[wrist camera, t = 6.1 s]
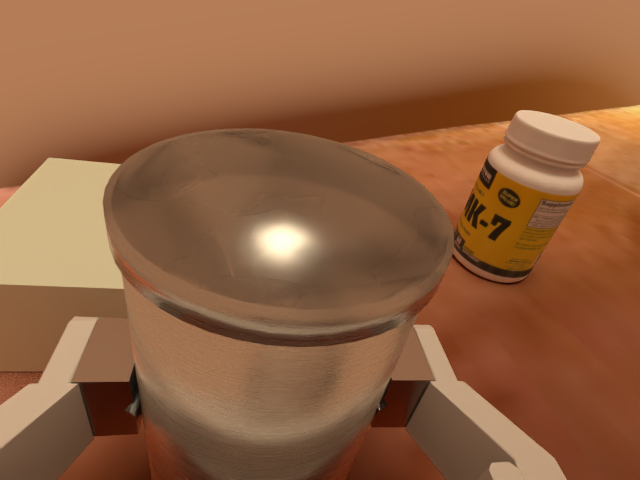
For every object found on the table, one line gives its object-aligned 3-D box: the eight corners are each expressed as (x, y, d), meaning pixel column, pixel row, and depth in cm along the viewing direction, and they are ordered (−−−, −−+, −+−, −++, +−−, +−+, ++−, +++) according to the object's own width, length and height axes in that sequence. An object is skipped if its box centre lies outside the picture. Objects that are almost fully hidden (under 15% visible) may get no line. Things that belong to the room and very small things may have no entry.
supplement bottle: (434, 236, 25) (488, 103, 21) (494, 234, 27) (558, 109, 22) (477, 289, 22) (556, 141, 17) (545, 283, 23) (634, 146, 19)
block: (233, 243, 21) (236, 175, 19) (222, 371, 15) (226, 292, 13) (66, 232, 20) (48, 157, 18) (-26, 371, 13) (-71, 281, 11)
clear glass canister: (321, 404, 15) (399, 144, 9) (347, 588, 10) (522, 322, 5) (170, 407, 14) (149, 114, 8) (132, 612, 9) (28, 308, 4)
